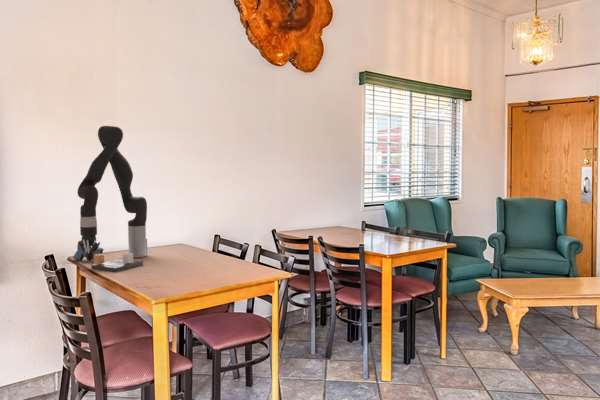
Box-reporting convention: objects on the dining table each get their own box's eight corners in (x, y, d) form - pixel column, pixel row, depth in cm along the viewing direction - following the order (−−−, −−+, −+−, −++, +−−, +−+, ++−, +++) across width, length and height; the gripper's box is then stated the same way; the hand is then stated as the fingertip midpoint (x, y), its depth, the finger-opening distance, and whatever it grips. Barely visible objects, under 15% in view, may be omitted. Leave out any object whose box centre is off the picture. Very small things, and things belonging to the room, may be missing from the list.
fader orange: (99, 262, 239) (99, 253, 238) (104, 263, 237) (104, 253, 237) (93, 263, 235) (93, 254, 235) (98, 264, 234) (98, 255, 234)
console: (119, 262, 252) (119, 258, 251) (143, 265, 245) (143, 261, 245) (91, 268, 235) (91, 264, 235) (115, 272, 228) (115, 267, 228)
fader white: (128, 261, 241) (128, 252, 241) (133, 262, 240) (133, 253, 240) (123, 262, 238) (123, 253, 238) (127, 263, 237) (127, 254, 236)
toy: (97, 267, 254) (101, 249, 253) (72, 258, 257) (76, 240, 256) (100, 266, 257) (104, 248, 255) (76, 257, 260) (79, 239, 258)
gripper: (104, 225, 238) (105, 260, 240) (85, 224, 244) (86, 257, 245) (91, 227, 232) (92, 262, 233) (72, 225, 237) (73, 260, 238)
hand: (89, 260), depth 239 cm, fingers closed
